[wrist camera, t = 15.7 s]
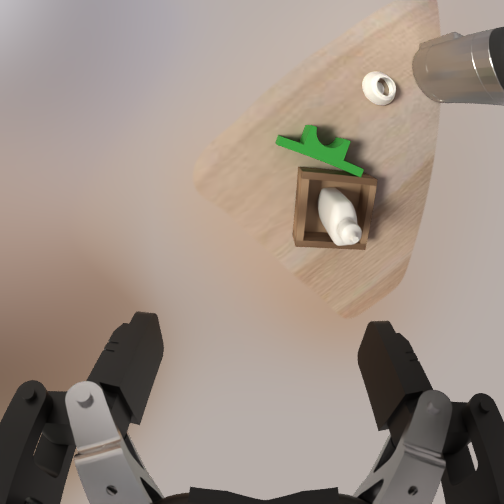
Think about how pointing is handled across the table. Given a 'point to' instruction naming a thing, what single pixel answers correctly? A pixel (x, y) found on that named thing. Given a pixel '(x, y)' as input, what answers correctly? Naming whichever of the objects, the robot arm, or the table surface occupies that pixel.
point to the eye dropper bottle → (338, 217)
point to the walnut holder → (306, 207)
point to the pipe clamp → (321, 149)
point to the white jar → (378, 88)
